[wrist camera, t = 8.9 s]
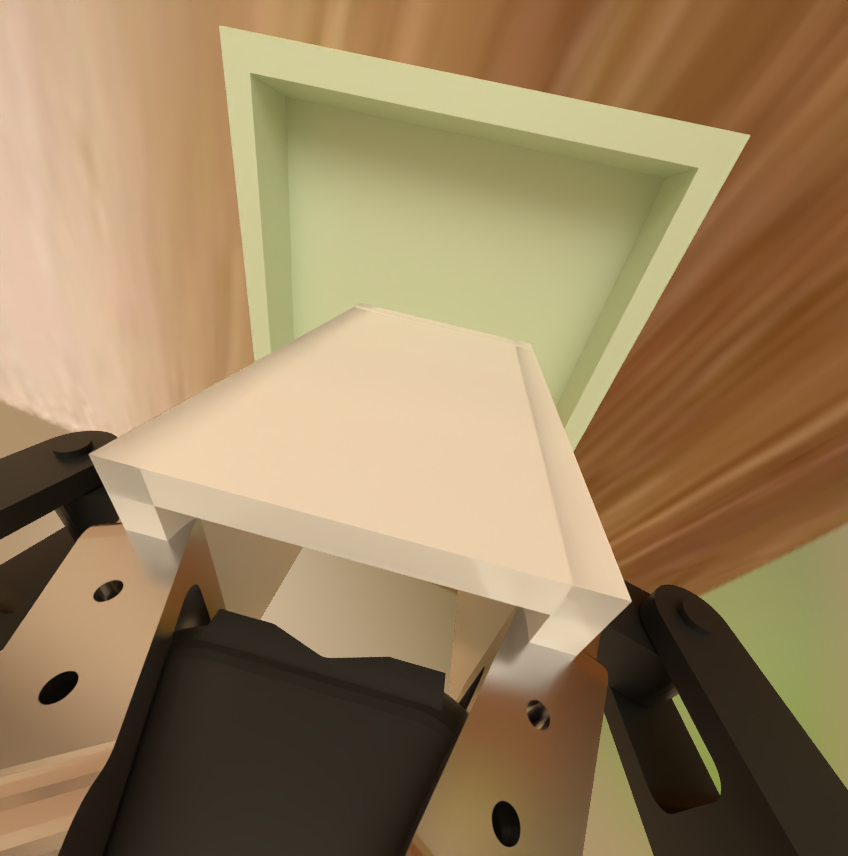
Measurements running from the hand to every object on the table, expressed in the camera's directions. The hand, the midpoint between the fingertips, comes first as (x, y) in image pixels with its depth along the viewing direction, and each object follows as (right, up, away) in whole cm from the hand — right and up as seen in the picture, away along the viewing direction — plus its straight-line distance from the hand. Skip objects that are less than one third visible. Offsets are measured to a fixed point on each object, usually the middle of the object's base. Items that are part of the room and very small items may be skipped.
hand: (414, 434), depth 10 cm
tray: (0, +4, +9) cm, 10 cm away
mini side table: (0, +1, +2) cm, 3 cm away
